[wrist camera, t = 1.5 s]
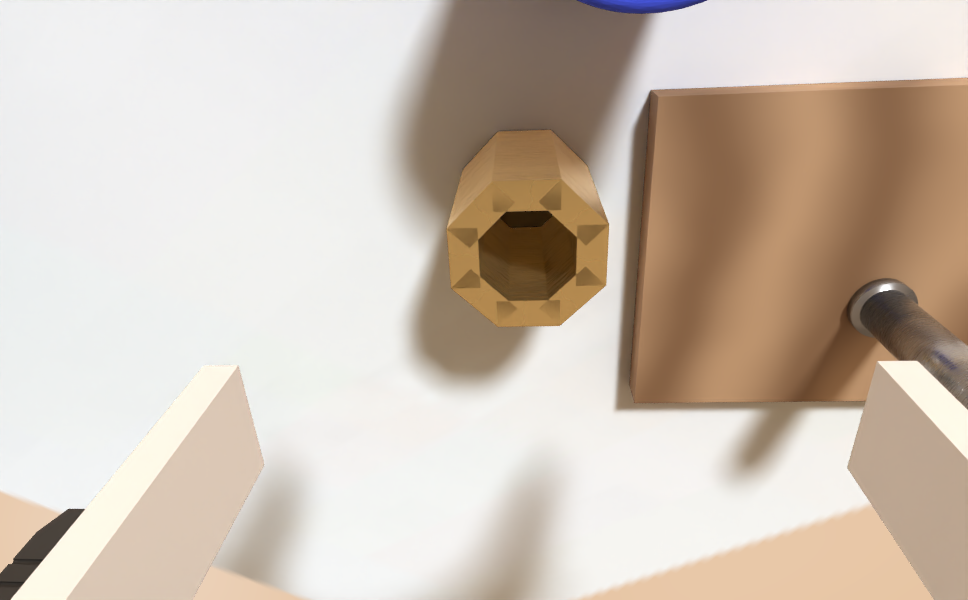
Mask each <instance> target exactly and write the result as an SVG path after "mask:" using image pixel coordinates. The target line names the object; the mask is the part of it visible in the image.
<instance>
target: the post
mask: <svg viewBox="0 0 968 600" xmlns="http://www.w3.org/2000/svg"><path fill="white" fill-rule="evenodd" d="M847 317H848V320H849V322H850V323H851V324H852V325H853V327H854V328H855V329H856V330H857V331H858V332H860V333H861V334H863V335H865V336H868V337H872V338H876V339H877V340H878V341H879V342H880V343H881V344H882V345H883V346H884V347H885V348H886V349H887V350H888V351H889V352H890V353H891V354H892V355H893V356H894V357H895V358H896V359H897V361H918V362H919V363H920V364H921V365H922V366H923V367H924V368H925V369H926V370H927V371H928V372H929V373H930V374H931V375H932V376H933V377H934V378H935V379H937V380H938V381H939V382H940V383H941V384H942V385H943V386H944V387H945V388H946V389H947V390H948V391H949V392H950V393H951V394H952V395H953V396H954V397H955V398H956V399H957V400H958V401H959V402H960V403H961V404H962V405H963V406H964V407H965V408H966V409H967V410H968V346H967V345H966V344H965V343H964V342H962V341H961V340H960V339H959V338H957V337H956V336H955V335H954V334H953V333H951V332H950V331H949V330H948V329H947V328H945V327H944V326H943V325H942V324H941V323H939V322H938V321H937V320H936V319H934V318H933V317H932V316H931V315H930V314H928V313H927V312H926V311H925V310H924V309H922V308H921V307H920V306H919V305H918V299H917V296H916V294H915V293H914V291H913V290H912V289H910V288H909V287H908V286H907V285H905V284H904V283H903V282H901V281H899V280H896V279H892V278H882V279H877V280H874V281H871V282H869V283H867V284H865V285H863V286H862V287H861V288H859V289H858V290H857V291H856V292H855V293H854V294H853V296H852V297H851V299H850V301H849V303H848V306H847Z"/></svg>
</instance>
